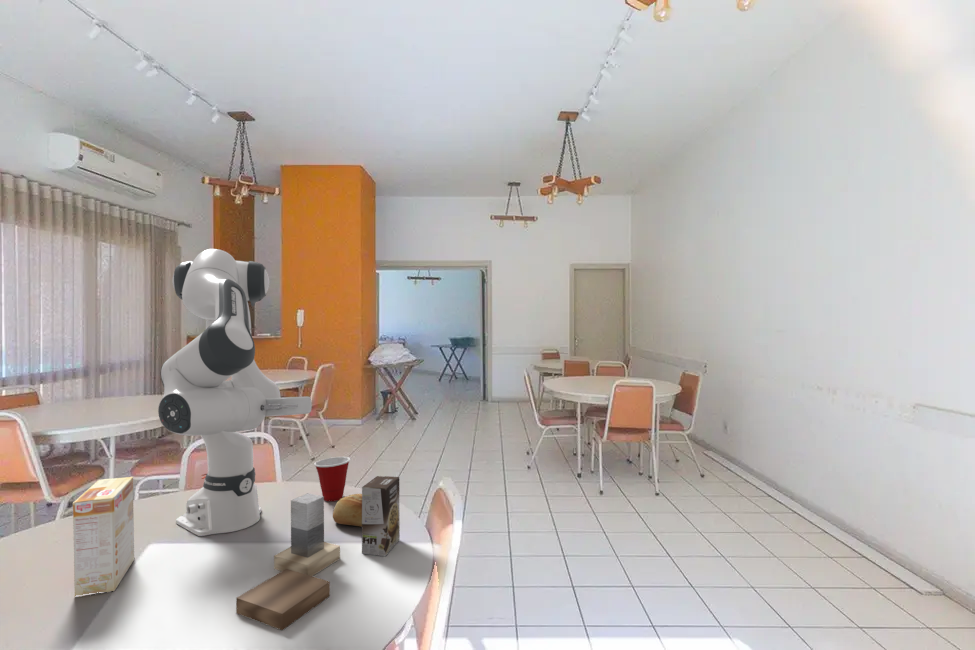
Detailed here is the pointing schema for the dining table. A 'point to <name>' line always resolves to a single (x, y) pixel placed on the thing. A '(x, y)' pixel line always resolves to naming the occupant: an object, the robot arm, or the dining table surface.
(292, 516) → the grey tall rectangular block
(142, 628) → the dining table surface
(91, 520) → the coffeecake box
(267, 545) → the dining table surface
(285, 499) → the dining table surface
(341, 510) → the bread roll
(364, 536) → the coffee box
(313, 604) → the walnut stand
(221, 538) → the dining table surface
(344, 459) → the plastic cup
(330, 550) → the birch stand
